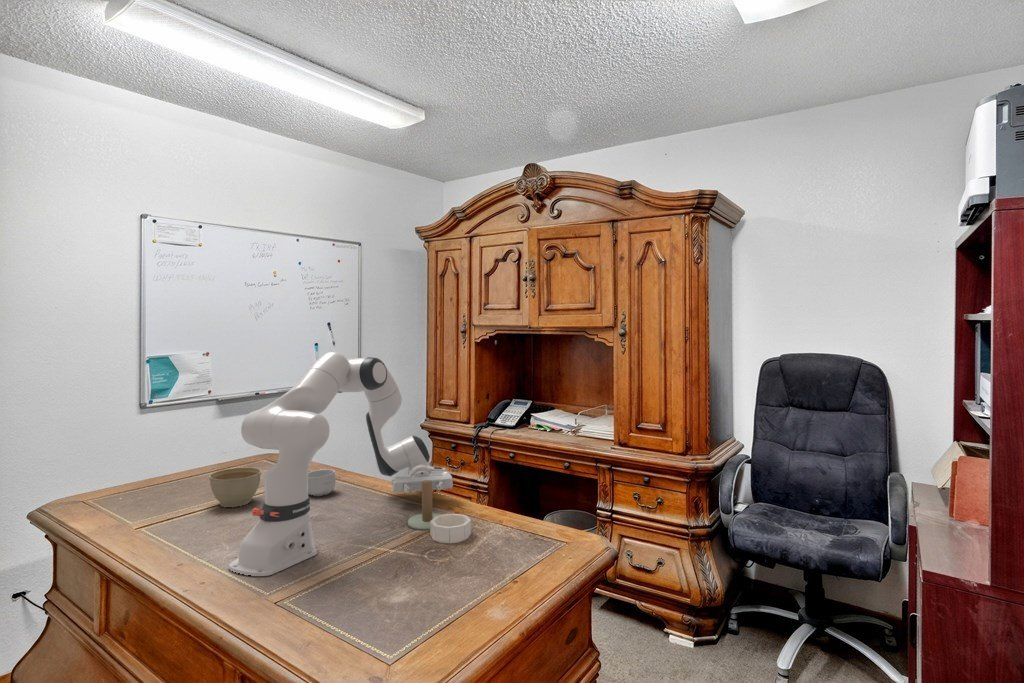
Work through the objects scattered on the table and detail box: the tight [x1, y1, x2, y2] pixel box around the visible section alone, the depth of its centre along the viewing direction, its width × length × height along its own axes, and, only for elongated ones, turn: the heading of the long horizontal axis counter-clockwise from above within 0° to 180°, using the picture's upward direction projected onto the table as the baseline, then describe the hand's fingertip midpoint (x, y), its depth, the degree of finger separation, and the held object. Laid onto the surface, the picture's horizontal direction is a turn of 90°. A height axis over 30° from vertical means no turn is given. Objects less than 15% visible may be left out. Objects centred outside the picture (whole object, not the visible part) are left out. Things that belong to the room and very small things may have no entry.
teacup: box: [308, 468, 336, 497], centre depth 201 cm, size 14×11×8 cm
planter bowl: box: [208, 467, 262, 508], centre depth 189 cm, size 16×16×11 cm
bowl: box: [429, 513, 472, 544], centre depth 158 cm, size 11×11×5 cm
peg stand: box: [407, 480, 442, 531], centre depth 168 cm, size 12×12×13 cm
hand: (424, 489), depth 178 cm, fingers open, 8 cm apart
